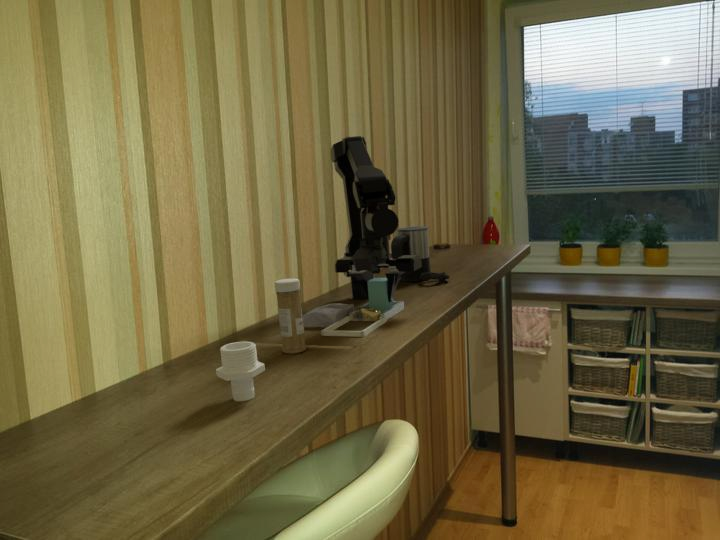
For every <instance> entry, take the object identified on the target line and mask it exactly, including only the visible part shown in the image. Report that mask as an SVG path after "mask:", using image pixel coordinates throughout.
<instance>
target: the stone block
mask: <svg viewBox="0 0 720 540" xmlns="http://www.w3.org/2000/svg"><path fill="white" fill-rule="evenodd" d="M355 309H356V308H355V305H354V304H353V303H350V304H346V303H337V302H335V303H328V304H325V305H321V306H317V307H314V308H313V309H311V310H309V311H307V312H306V313H302V317H303V326H304V328H327V327H329V326H330V325H332V324H334V323H336V322H338V321H339V320H341V319H343V318H345V317H346V316H349V313H350V312H352V311H354V310H355Z"/></svg>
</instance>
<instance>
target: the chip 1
mask: <svg viewBox="0 0 720 540" xmlns="http://www.w3.org/2000/svg"><path fill="white" fill-rule="evenodd" d="M373 309H374V307H364V308H361V317H362V318H367V311H368V310H373Z"/></svg>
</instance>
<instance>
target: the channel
mask: <svg viewBox="0 0 720 540" xmlns="http://www.w3.org/2000/svg"><path fill="white" fill-rule="evenodd" d="M364 307H369V301H368V302H367V303H364V304H363V305H361V306H359V307H357V308H354V309H355V310H354V311H352V312H350V313H349V317H350V321H351V322H370V321H369V320H367V318H362V317H361V308H364ZM403 310H405V301H404V300H394V305H393V306H392V307H390V308H389V309H387V310H385V311H384V312H381V313H380V315H381V318H383V317H387V320H388V319H390V318H392V317H393V316H395V315H397V314H398V313H399V312H401V311H403ZM350 321H349V322H350ZM377 321H378V320H376V321H375V322H377Z"/></svg>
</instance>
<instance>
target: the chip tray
mask: <svg viewBox="0 0 720 540" xmlns="http://www.w3.org/2000/svg"><path fill="white" fill-rule="evenodd" d="M349 322H350V317H349V316H346V317H345V318H343V319H341V320H339V321H338V322H336V323H334V324H332V325H330V326H329V327H324V329H321V330H320V334H321V336H325V337H327V336H328V337H360V338H363V337H366V336H367V335H369V334H370V333H372V332H373V331H375V330H376V329H378V328H380V327H381V326H382V325H385V323H387V322H388V319H387V317H383V318H381V319H380V320H378V321H374V323H371V324H370V325H369V326H367V327H366V328H364V329H362V330H339V329H338V328H339V327H341V326H344V325H345V324H346V323H349ZM336 329H338V330H336Z"/></svg>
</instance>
